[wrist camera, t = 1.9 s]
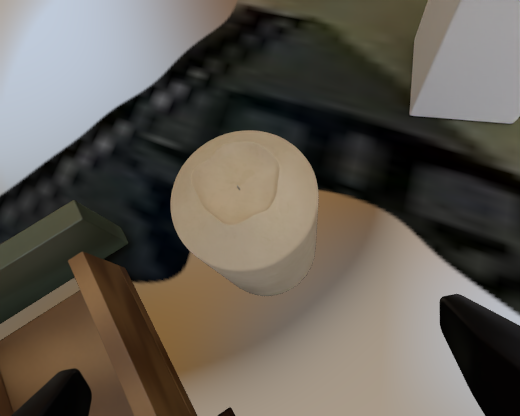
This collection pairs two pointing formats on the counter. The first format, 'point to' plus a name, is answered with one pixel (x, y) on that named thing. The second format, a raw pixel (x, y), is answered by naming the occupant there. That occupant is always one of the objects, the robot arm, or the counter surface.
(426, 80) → the milk
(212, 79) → the counter surface
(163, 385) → the drawer
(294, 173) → the candle
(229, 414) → the cabinet
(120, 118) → the counter surface
